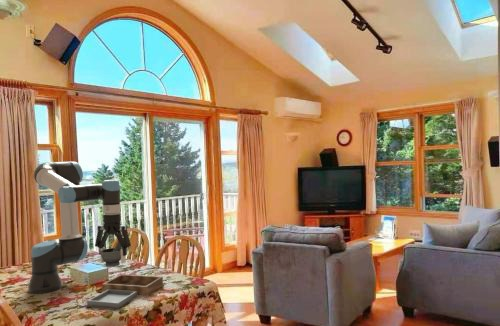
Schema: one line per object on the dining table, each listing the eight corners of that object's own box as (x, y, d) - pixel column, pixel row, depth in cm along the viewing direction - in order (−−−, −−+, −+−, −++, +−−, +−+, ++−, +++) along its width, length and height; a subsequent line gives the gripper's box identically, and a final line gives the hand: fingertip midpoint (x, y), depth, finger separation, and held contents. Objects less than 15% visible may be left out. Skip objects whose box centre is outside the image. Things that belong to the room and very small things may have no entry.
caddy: (102, 293, 190) (102, 283, 190) (121, 282, 205) (121, 274, 205) (146, 296, 184) (146, 286, 184) (163, 285, 199) (162, 276, 199)
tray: (87, 306, 173) (87, 300, 173) (108, 294, 188) (108, 289, 188) (118, 309, 169) (117, 303, 169) (137, 296, 184) (137, 291, 184)
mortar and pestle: (107, 269, 171) (106, 242, 171) (97, 265, 178) (96, 239, 178) (130, 263, 180) (129, 237, 180) (120, 260, 186) (119, 235, 186)
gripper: (85, 214, 178) (86, 263, 178) (129, 215, 172) (130, 265, 173) (95, 212, 185) (97, 259, 185) (138, 212, 180) (139, 261, 180)
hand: (113, 262), depth 179 cm, fingers closed on mortar and pestle, 10 cm apart
